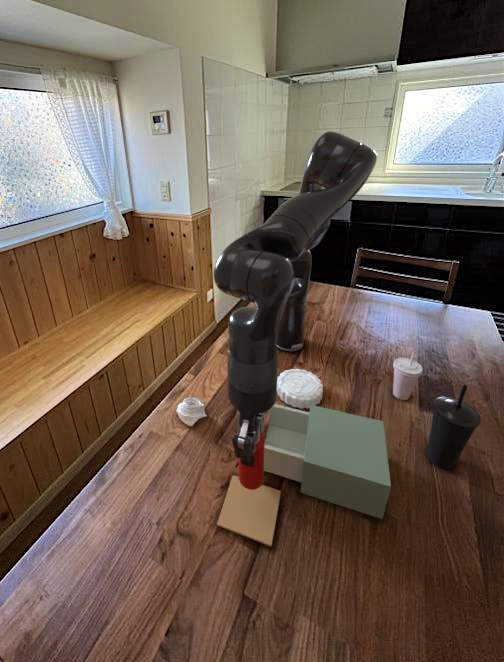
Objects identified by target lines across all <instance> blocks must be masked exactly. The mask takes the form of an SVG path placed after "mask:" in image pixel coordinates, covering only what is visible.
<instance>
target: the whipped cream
mask: <svg viewBox="0 0 504 662" xmlns="http://www.w3.org/2000/svg"><path fill="white" fill-rule="evenodd" d="M205 409H206V407H205V404H204V403H202V401H201V400H200V399H199V398H195V397H187V398H184V399H183V400H182V402H180V403H179V404H178V405H177V407H176V414H177V416H178V418H179V419H180V421H181V422H182V423H183V424H185V425H186V426H188V427H193V426H194V424H195V423H196V422H197V421H199V419H202V418H207V416H208V415H207V413H206V411H205Z"/></svg>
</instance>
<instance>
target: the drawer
mask: <svg viewBox="0 0 504 662" xmlns="http://www.w3.org/2000/svg"><path fill="white" fill-rule="evenodd" d="M309 414H310V411H305V410H304V411H303V410H302V409H296V408H294V407H288V406H285V405H280V404H277V403H275V404H274V405H273V407H272V408H271V409H269V418H268V419H269V420H268V423H269V424H268V427H267V432H266V435H265V446H264V472H267V473H270V474H273V475H276V476H280V477H283V478H286V479H289V480H292V481H296V482H298V483H301V481H302V472H303V462H304V454H305V446H306V438H307V430H308V422H309ZM265 423H266V416H265V417H264V421H263V423H262V428H261V432H262V433H263V429H264V427H265Z"/></svg>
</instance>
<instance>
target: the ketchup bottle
mask: <svg viewBox="0 0 504 662" xmlns="http://www.w3.org/2000/svg"><path fill="white" fill-rule="evenodd" d="M248 432H249V431H248ZM252 433H255V431H254V432H252ZM265 439H266V437H265V436H264V434H263V431H262V432H261V431H260V436H259V439H258V442H256V445H255V449H256V451H255V463H254V467H253V468H250V467H246V466H243V465H242V464H241V458H238V477H239V481H240V483H241V484H242V486H243V487H245V488H246V489H249V490H255V489H258V488H259V487H260V486H261V485H263V483H264V472H265V471H264V446H265Z"/></svg>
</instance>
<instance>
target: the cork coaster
mask: <svg viewBox="0 0 504 662" xmlns="http://www.w3.org/2000/svg"><path fill="white" fill-rule="evenodd" d="M281 494H282V490H279V489H276V488H273V487H271V486H268V485H265V484H262V485H261V486H260V487H259V488H258V489H255V490H249V489H246V488H245V487H243V486H242V484H241V483H240V481H239V476H238V475H234V474H232V476H231V479H230V483H229V485H228V489H227V492H226V495H225V498H224V501H223V504H222V508H221V511H220V513H219V518H218V520H217V522H216V526H217V527H219V528H222V529H224V530H227V531H230V532H232V533H233V534H234V533H235V534H237V535H240V536H241V537H244V538H247V539H250V540H253V541H255V542H257V543H260V544H263V545H265V546H268V547H270V548H272V546H273V542H274V536H275V530H276V523H277V517H278V511H279V507H280V501H281Z"/></svg>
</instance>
